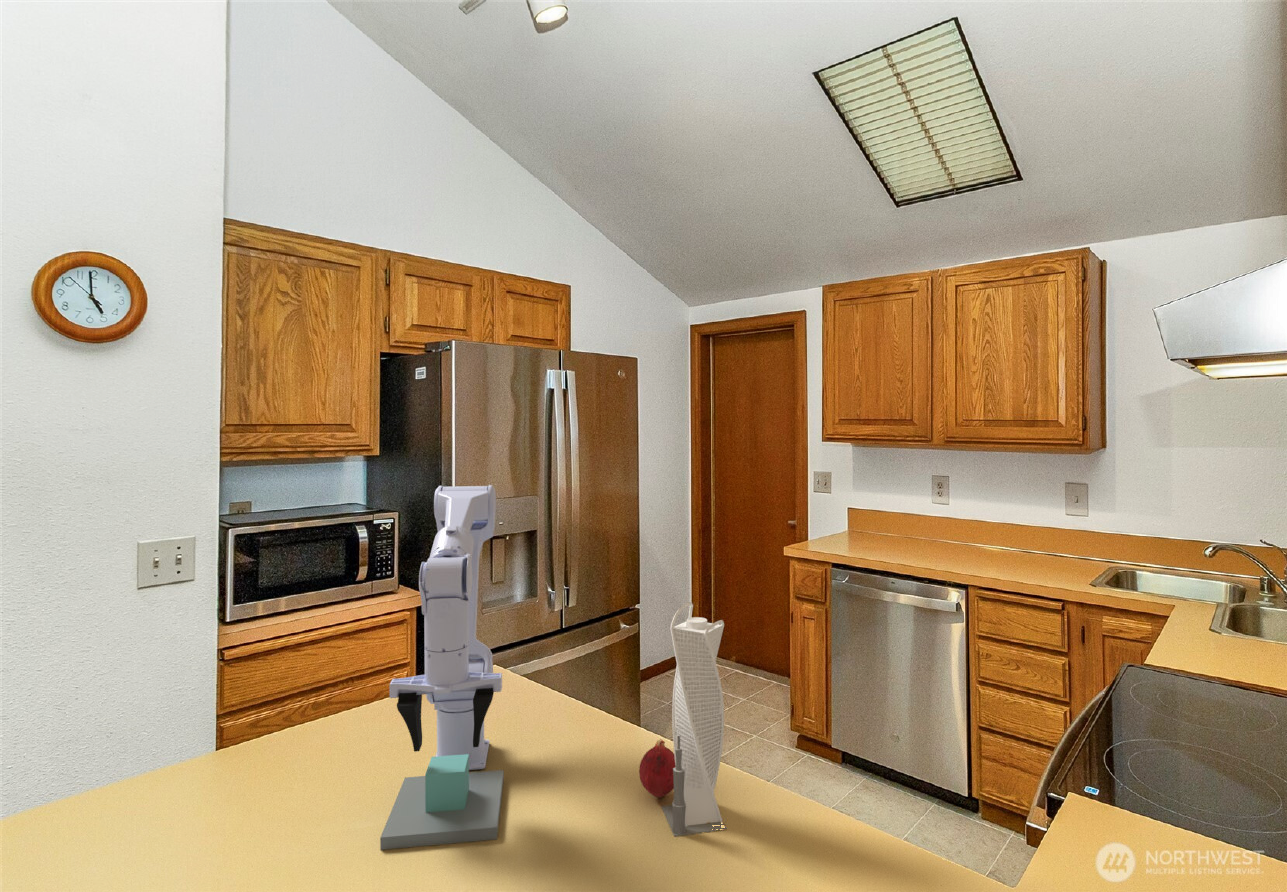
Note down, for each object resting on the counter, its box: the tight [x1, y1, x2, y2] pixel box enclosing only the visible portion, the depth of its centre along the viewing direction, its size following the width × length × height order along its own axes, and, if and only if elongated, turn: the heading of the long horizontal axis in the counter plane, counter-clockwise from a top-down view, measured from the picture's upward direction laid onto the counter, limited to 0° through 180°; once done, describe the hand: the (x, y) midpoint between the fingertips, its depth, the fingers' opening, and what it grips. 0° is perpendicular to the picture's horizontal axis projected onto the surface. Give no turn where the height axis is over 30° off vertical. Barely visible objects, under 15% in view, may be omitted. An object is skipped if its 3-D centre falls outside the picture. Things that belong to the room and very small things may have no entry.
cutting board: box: [379, 769, 505, 851], centre depth 91 cm, size 15×14×2 cm
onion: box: [638, 738, 676, 799], centre depth 94 cm, size 6×6×8 cm
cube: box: [424, 754, 470, 812], centre depth 91 cm, size 5×5×5 cm
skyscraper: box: [661, 602, 728, 838], centre depth 90 cm, size 8×8×28 cm
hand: (447, 745), depth 91 cm, fingers open, 7 cm apart
